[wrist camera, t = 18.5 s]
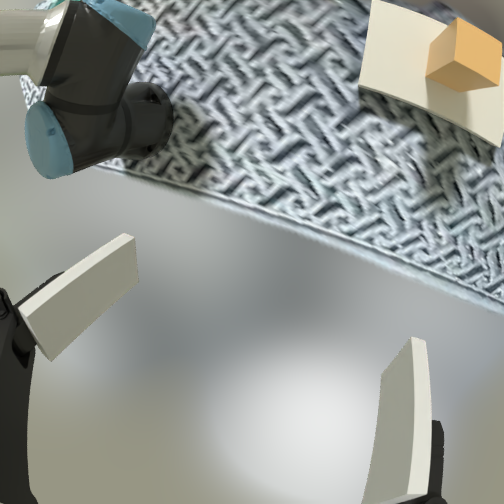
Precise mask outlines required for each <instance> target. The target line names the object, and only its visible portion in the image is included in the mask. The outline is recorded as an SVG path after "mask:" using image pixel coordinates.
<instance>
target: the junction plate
mask: <svg viewBox="0 0 504 504" xmlns="http://www.w3.org/2000/svg"><path fill="white" fill-rule="evenodd" d="M447 27H448V26H447V25H445V24H443V23H441V22H438V21H436V20H434V19H431V18H429V17H427V16H424V15H422V14H419V13H416V12H414V11H411V10H408V9H405V8H402V7H399V6H396V5H393V4H390V3H387V2H383V1H380V0H372V5H371V12H370V19H369V26H368V33H367V39H366V45H365V51H364V57H363V62H362V68H361V73H360V78H359V83H358V87H361V88H364V89H367V90H371V91H374V92H377V93H380V94H383V95H386V96H389V97H392V98H394V99H397V100H400V101H403V102H405V103H408V104H410V105H413V106H415V107H418V108H420V109H422V110H425V111H427V112H429V113H432V114H434V115H436V116H438V117H440V118H442V119H445V120H447V121H449V122H451V123H453V124H455V125H457V126H459V127H461V128H462V129H464V130H466V131H468V132H470V133H472V134H473V135H475V136H477V137H479V138H480V139H482V140H484V141H486V142H487V143H489V144H491V145H493V146H496V147H499V148H500V145H501V141H502V137H503V132H504V58H503V57H502V58H501V72H500V82H499V86H497V87H489V88H483V89H477V90H471V91H465V92H460V93H459V92H457V91H455V90H453V89H451V88H449V87H447V86H445V85H443V84H441V83H438V82H436V81H434V80H432V79H429V78H427V77H425V74H426V68H427V61H428V54H429V46H430V43H431V42H432V41H433V40H434V39H435V38H437V37H438V36H439V35H440V34H441V33H442V32H443V31H444V30H445V29H446V28H447Z"/></svg>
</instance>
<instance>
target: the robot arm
mask: <svg viewBox="0 0 504 504" xmlns="http://www.w3.org/2000/svg"><path fill="white" fill-rule="evenodd" d="M155 29H156V21H155V19H154V18H153V17H152V16H150V15H148V14H146V13H144V12H142V11H140V10H138V9H135V8H133V7H131V6H128V5H126V4H123V3H120V2H118V1H115V0H81V1H73V0H66V1H64V2H62V3H61V4H59V5H58V6H56V7H54V8H52V9H50V10H43V9H15V10H0V76H10V75H28V76H29V77H30V78H31V80H32V81H33V83H34V84H35V86H47V89H46V93H45V97H44V100H43V101H38V102H36V103H35V104H33V105H32V106H31V107H30V109H29V110H28V112H27V115H26V119H25V139H26V145H27V149H28V153H29V156H30V158H31V161H32V163H33V165H34V167H35V168H36V169H37V171H38V172H39V173H40V174H41V175H42V176H43V177H45V178H47V179H56V178H59V177H61V176H65V175H70V174H73V173H75V172H77V171H80V170H83V169H85V168H88V167H90V166H93V165H96V164H99V163H101V162H104V161H107V160H110V159H113V158H123V159H131V160H141V159H145V158H148V157H151V156H154V155H156V154H157V153H158V152H160V151H161V150H162V149H163V147H164V146H165V145H166V143H167V141H168V139H169V137H170V134H171V131H172V126H173V110H172V105H171V102H170V100H169V98H168V96H167V94H166V93H165V91H164V90H163V89H162V88H161V87H159V86H158V85H156V84H154V83H150V82H135V83H131V84H129V85H128V83H129V81H130V79H131V77H132V75H133V73H134V71H135V69H136V67H137V65H138V63H139V61H140V59H141V57H142V55H143V53H144V51H146V50H147V45H148V43H149V41H150V39H151V37H152V35H153V33H154V31H155ZM135 248H136V247H135V238H134V237H133V236H130V235H128V234H125V233H123V234H121V235H120V236H118V237H116V238H115V239H113V240H112V241H110V242H109V243H107V244H106V245H104V246H103V247H101V248H100V249H98V250H96V251H95V252H93V253H92V254H90V255H89V256H88V257H86V258H84V259H83V260H81V261H80V262H79V263H77V264H76V265H74V266H73V267H71V268H70V269H69V270H67V271H66V272H61V273H59V274H56V275H54V276H52V277H51V278H50V279H48V280H47V281H46V282H45V283H43V284H41V285H40V286H39V288H38V287H37V288H36V289H35V290H34V291H32V292H31V293H29V294H28V295H27V296H26V297H24V298H23V299H22V300H20V301H19V302H18V303H17V304H15V305H12V303H11V301H10V299H9V297H8V294H7V292H6V291H5V290H4V289H3V288H0V503H3V504H38V502H37V500H36V498H35V497H34V496H33V494H32V493H31V491H30V486H29V475H28V460H27V421H28V406H29V395H30V385H31V378H32V371H33V364H34V358H35V345H38V347H39V349H40V350H41V352H42V353H43V354H44V355H45V356H46V357H47V358H48V359H49V360H50V361H51V362H52V361H53V360H54V359H55V358H56V357H57V356H58V355H59V354H60V353H61V352H62V351H63V350H64V349H65V348H66V347H67V346H68V345H69V344H70V343H71V342H73V340H75V339H76V338H77V337H78V336H79V335H80V334H81V333H82V332H83V331H84V330H85V329H86V328H87V327H88V326H90V325H91V324H92V323H93V322H94V321H95V320H96V319H97V318H98V317H100V316H101V315H102V314H103V313H104V312H105V311H106V310H107V309H108V308H110V306H112V305H113V304H114V303H115V302H116V301H117V300H119V299H120V298H121V297H122V296H123V295H124V294H125V293H127V292H128V291H129V290H130V289H131V288H132V287H133V286H134V285H136V284H137V283H138V282H139V278H138V270H137V259H136V249H135ZM443 446H444V431H443V428H442V426H441V423H440V421H436V420H432V419H431V391H430V378H429V366H428V357H427V350H426V342H425V341H424V340H421V339H417V338H414V337H410V339H409V340H408V342H407V343H406V344H405V346H404V347H403V348H402V349H401V351H400V352H399V353H398V355H397V356H396V357H395V358H394V360H393V361H392V362H391V363H390V365H389V366H388V367H387V368H386V369H385V371H384V372H383V373H382V374H381V386H380V400H379V409H378V418H377V427H376V433H375V440H374V447H373V453H372V458H371V464H370V469H369V474H368V478H367V483H366V487H365V492H364V496H363V500H362V503H361V504H447V502H446V501H445V500H444V499H443V498H442V496H441V488H442V487H441V486H442V477H443V476H442V475H443V461H444V460H443V459H444V458H443V455H444V448H443Z"/></svg>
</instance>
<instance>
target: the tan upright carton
mask: <svg viewBox="0 0 504 504" xmlns="http://www.w3.org/2000/svg"><path fill="white" fill-rule="evenodd" d="M501 58H502V43H501V42H499V41H498V40H496V39H495V38H493V37H492V36H490V35H488V34H487V33H485V32H484V31H482V30H480V29H478V28H477V27H475V26H473V25H471V24H469V23H468V22H466V21H464V20H462V19H460V18H458V17H457V18H456V19H455V20H454V21H453V22H452V23H451V24H450V25H449V26H448V27H447V28H446V29H445V30H444V31H443V32H442V33H441V34H440V35H439V36H438V37H437V38H435V39H434V40H433V41H432V42H431V43H430V46H429V54H428V61H427V68H426V74H425V77H427V78H429V79H432V80H434V81H436V82H438V83H441V84H443V85H445V86H447V87H449V88H451V89H453V90H455V91H457V92H459V93H460V92H465V91H471V90H477V89H483V88H489V87H497V86H499V82H500V72H501Z"/></svg>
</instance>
